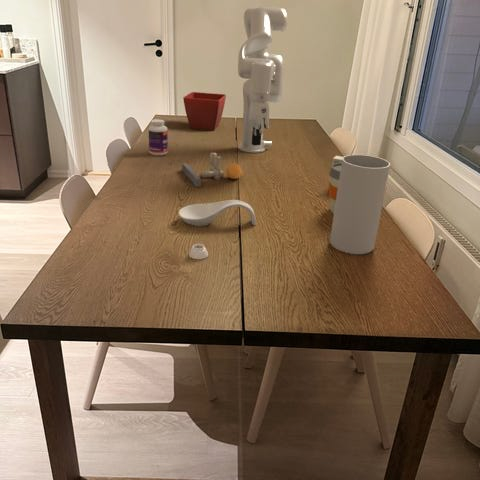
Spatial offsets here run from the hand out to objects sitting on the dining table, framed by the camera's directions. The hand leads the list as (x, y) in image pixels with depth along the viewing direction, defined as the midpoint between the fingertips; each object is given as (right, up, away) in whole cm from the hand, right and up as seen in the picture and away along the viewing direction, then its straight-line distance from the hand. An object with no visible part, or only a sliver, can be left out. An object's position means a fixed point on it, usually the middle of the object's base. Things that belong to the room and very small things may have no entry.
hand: (256, 144), depth 191 cm
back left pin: (-15, -14, -3) cm, 21 cm away
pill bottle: (-42, 0, +23) cm, 48 cm away
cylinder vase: (+26, -39, -50) cm, 69 cm away
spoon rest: (-13, -32, -40) cm, 53 cm away
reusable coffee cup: (+29, -28, -26) cm, 48 cm away
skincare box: (+31, -18, -6) cm, 36 cm away
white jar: (-17, -42, -61) cm, 76 cm away
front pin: (-13, -11, -1) cm, 17 cm away
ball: (-9, -11, -3) cm, 14 cm away
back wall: (-25, -14, -5) cm, 29 cm away
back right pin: (-17, -12, +1) cm, 21 cm away
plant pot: (-26, +23, +74) cm, 81 cm away
